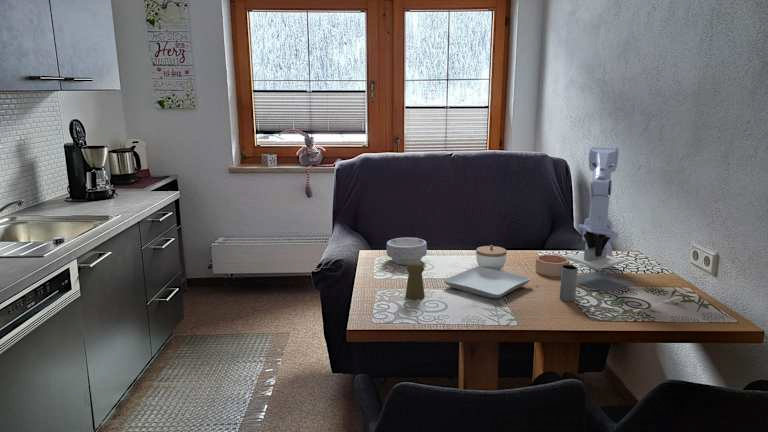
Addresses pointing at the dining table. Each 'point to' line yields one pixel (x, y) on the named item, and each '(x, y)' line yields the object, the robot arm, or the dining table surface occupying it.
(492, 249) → the lidded jar
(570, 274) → the planter
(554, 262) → the bowl
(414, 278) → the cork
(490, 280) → the salad plate
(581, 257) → the cover
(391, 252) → the grey round bowl
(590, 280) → the mat
